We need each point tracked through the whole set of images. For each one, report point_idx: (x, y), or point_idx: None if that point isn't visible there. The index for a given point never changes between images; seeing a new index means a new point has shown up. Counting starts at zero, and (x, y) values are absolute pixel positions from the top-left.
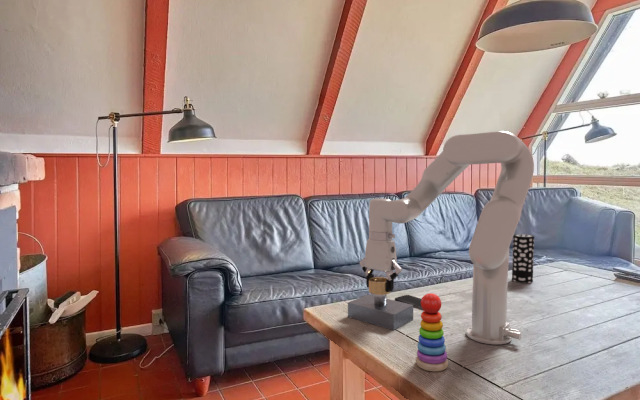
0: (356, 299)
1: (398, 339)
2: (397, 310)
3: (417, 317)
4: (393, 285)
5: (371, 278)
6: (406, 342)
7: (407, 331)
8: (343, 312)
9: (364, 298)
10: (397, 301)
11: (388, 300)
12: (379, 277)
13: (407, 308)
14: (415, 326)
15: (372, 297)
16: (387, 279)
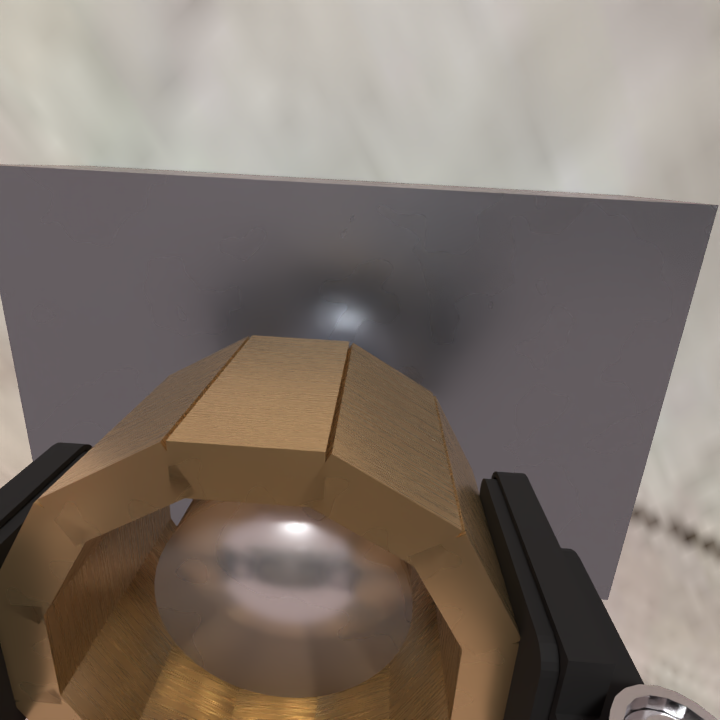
0: (34, 431)
1: (647, 609)
2: (599, 494)
3: (645, 95)
4: (593, 591)
5: (35, 674)
6: (711, 621)
7: (662, 468)
8: (20, 407)
9: (69, 351)
10: (465, 201)
11: (344, 239)
12: (100, 507)
13: (672, 354)
14: (694, 339)
15: (108, 254)
16: (379, 542)
